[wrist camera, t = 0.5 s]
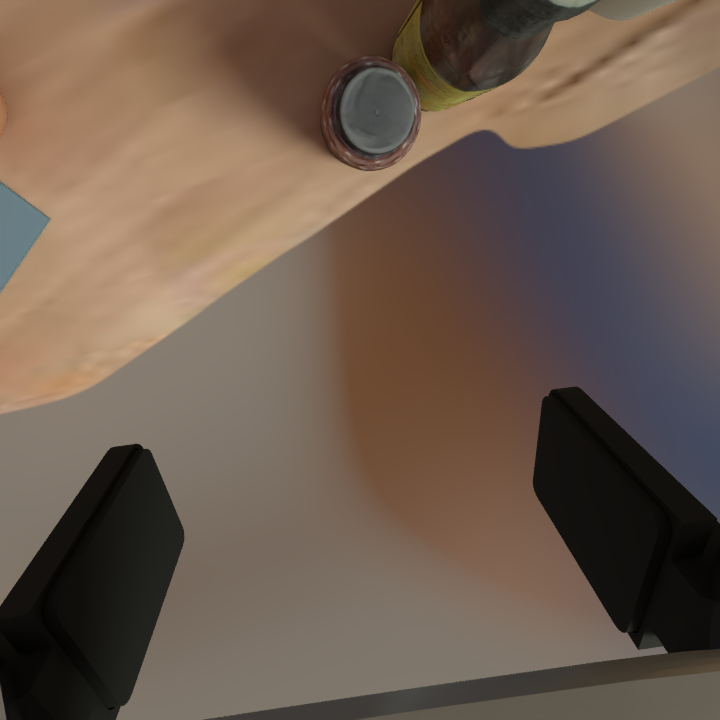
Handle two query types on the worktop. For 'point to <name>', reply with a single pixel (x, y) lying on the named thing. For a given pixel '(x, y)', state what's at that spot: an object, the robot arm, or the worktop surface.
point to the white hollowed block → (626, 8)
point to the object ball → (3, 114)
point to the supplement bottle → (370, 113)
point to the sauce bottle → (474, 44)
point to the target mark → (16, 231)
